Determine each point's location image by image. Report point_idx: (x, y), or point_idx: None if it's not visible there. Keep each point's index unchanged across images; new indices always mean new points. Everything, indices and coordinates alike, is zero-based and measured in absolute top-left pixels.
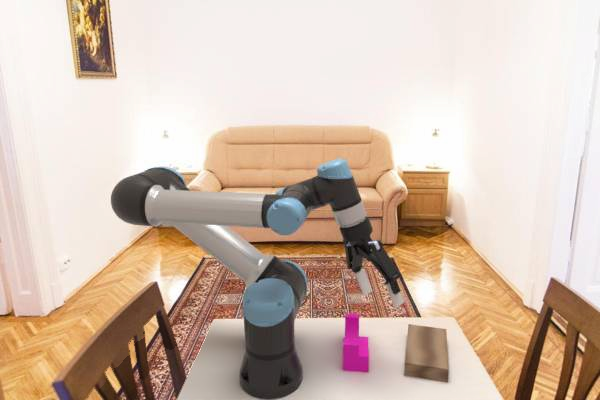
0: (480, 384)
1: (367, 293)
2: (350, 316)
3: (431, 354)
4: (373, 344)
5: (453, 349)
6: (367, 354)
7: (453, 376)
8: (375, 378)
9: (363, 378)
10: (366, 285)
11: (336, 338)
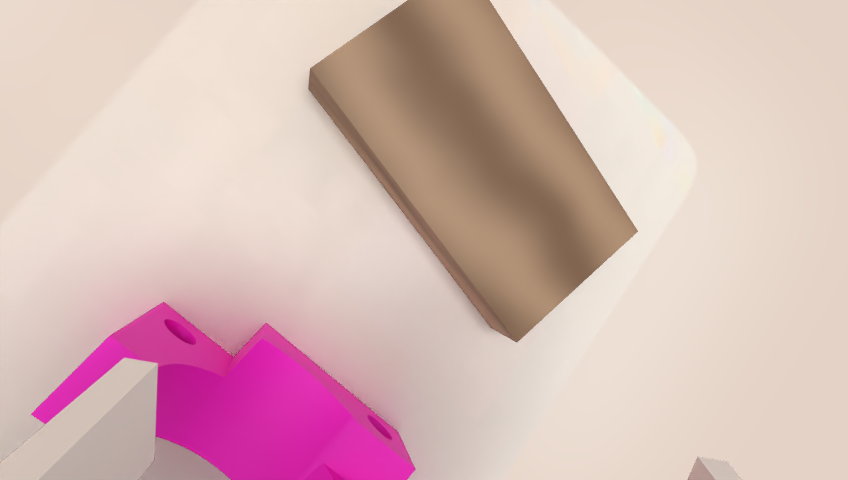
0: (664, 151)
1: (153, 429)
2: None
3: (546, 204)
4: (259, 281)
5: None
6: (397, 464)
7: None
8: (439, 432)
9: None
10: (90, 477)
11: None
